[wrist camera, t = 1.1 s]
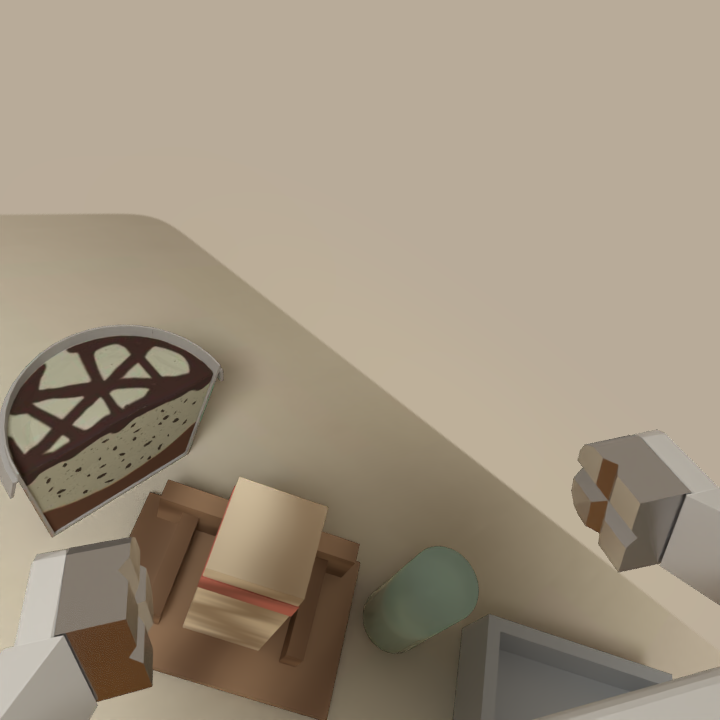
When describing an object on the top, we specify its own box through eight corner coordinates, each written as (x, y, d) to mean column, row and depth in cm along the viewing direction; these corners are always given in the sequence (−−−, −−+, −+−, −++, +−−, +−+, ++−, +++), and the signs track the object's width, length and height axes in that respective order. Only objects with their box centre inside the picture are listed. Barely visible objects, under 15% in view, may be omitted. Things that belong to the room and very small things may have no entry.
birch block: (181, 627, 36) (204, 568, 28) (209, 550, 39) (238, 475, 30) (258, 651, 37) (305, 600, 28) (281, 574, 40) (329, 506, 31)
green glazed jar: (357, 642, 39) (404, 609, 33) (370, 578, 42) (415, 536, 36) (417, 661, 40) (475, 632, 34) (426, 597, 42) (481, 559, 36)
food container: (154, 377, 45) (164, 285, 37) (206, 442, 44) (228, 360, 36) (-29, 471, 38) (-64, 381, 30) (26, 553, 36) (5, 480, 29)
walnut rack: (79, 647, 35) (77, 632, 32) (149, 495, 40) (152, 471, 38) (323, 721, 36) (341, 712, 33) (357, 565, 42) (375, 547, 39)
